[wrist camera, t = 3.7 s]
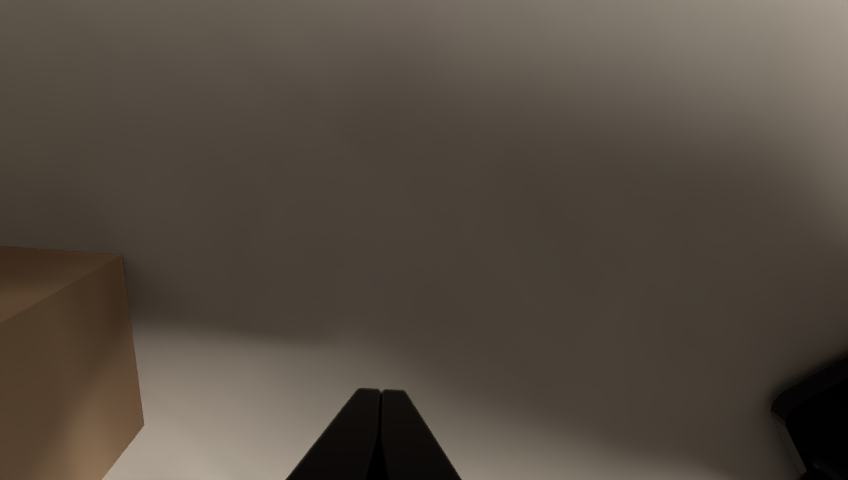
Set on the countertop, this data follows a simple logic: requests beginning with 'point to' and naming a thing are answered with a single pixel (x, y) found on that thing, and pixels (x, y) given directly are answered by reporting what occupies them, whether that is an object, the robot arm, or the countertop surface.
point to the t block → (65, 365)
